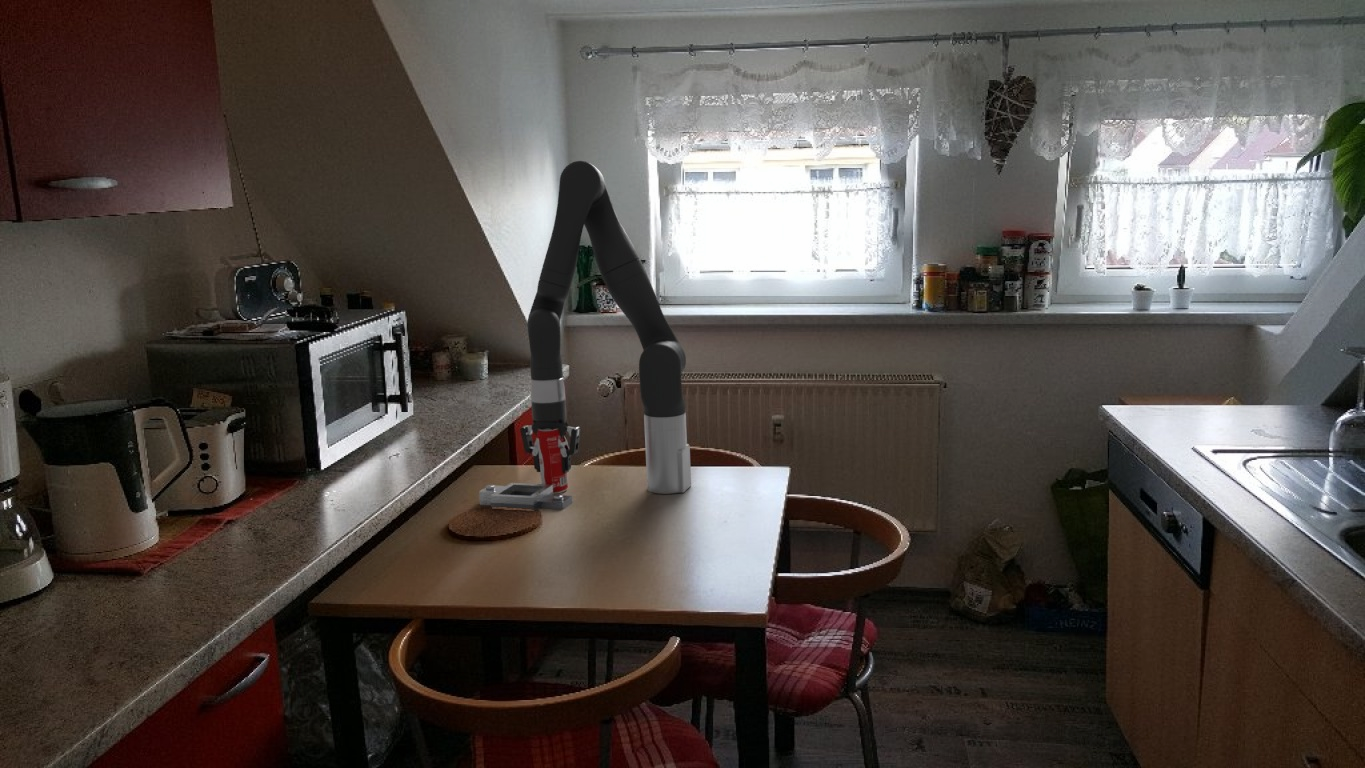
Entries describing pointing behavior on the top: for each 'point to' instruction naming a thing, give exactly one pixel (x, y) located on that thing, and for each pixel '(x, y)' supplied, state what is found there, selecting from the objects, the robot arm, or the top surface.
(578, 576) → the top surface
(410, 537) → the top surface
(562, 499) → the bolted grey bracket
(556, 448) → the beverage can
